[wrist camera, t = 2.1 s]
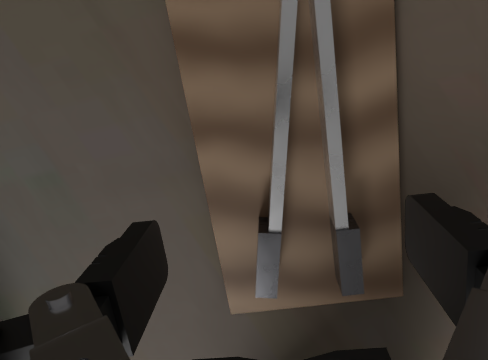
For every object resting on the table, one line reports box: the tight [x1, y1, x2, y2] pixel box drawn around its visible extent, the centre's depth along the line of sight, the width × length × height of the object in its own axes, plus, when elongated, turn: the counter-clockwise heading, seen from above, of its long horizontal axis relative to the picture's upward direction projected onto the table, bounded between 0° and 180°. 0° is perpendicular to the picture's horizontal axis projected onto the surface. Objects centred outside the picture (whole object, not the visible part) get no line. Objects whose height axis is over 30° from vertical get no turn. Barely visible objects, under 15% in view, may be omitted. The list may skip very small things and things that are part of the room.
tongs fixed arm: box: [308, 0, 364, 296], centre depth 27 cm, size 28×3×3 cm, turn 9°
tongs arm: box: [255, 0, 298, 299], centre depth 28 cm, size 25×2×3 cm, turn 178°
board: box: [165, 0, 403, 314], centre depth 30 cm, size 34×16×2 cm, turn 9°
